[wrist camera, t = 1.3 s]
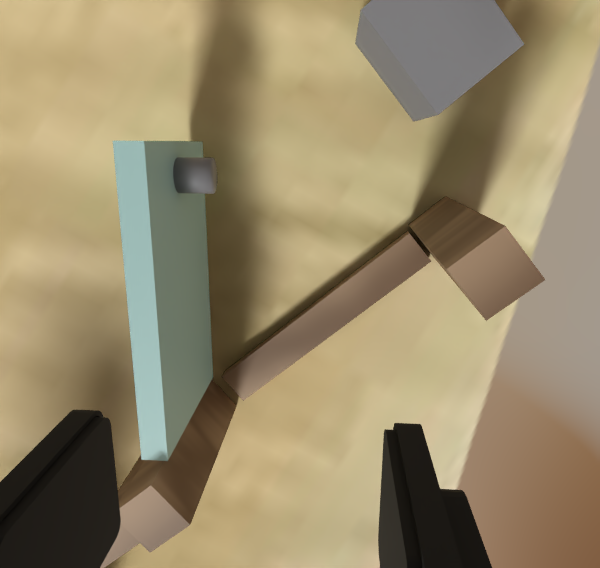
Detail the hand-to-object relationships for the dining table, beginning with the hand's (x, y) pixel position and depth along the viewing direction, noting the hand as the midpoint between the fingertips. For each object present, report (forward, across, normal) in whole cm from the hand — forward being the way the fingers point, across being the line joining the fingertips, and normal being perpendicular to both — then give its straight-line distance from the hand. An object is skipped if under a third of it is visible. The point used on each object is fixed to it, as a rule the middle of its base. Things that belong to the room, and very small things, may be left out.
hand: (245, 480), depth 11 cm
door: (+19, +5, 0) cm, 19 cm away
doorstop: (+20, -6, -11) cm, 23 cm away
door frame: (+20, 0, +4) cm, 20 cm away
